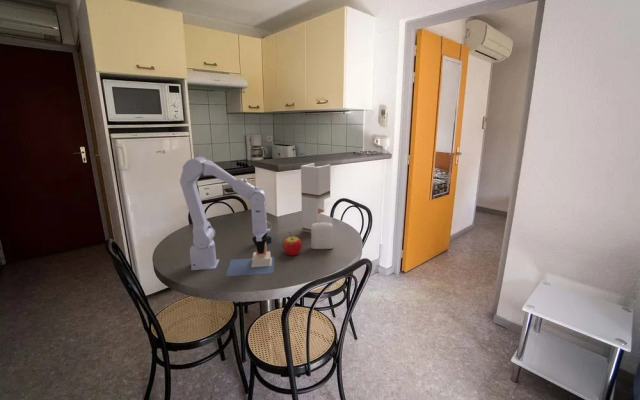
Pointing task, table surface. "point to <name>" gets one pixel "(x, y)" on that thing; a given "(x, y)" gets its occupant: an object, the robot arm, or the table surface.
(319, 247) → the photo printer
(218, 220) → the table surface
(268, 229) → the robot arm
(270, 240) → the watch
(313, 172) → the tall white column
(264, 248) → the terracotta block
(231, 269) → the blueprint board
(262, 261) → the base block
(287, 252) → the apple
